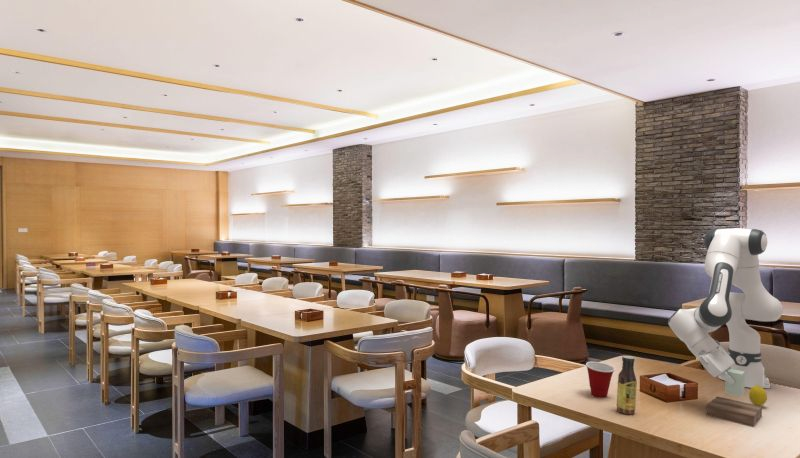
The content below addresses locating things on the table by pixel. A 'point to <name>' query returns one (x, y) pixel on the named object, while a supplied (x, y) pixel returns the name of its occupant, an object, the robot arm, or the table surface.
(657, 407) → the table surface
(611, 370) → the plastic cup
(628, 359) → the sauce bottle
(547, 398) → the table surface
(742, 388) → the sage block
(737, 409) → the walnut slab
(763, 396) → the lemon
